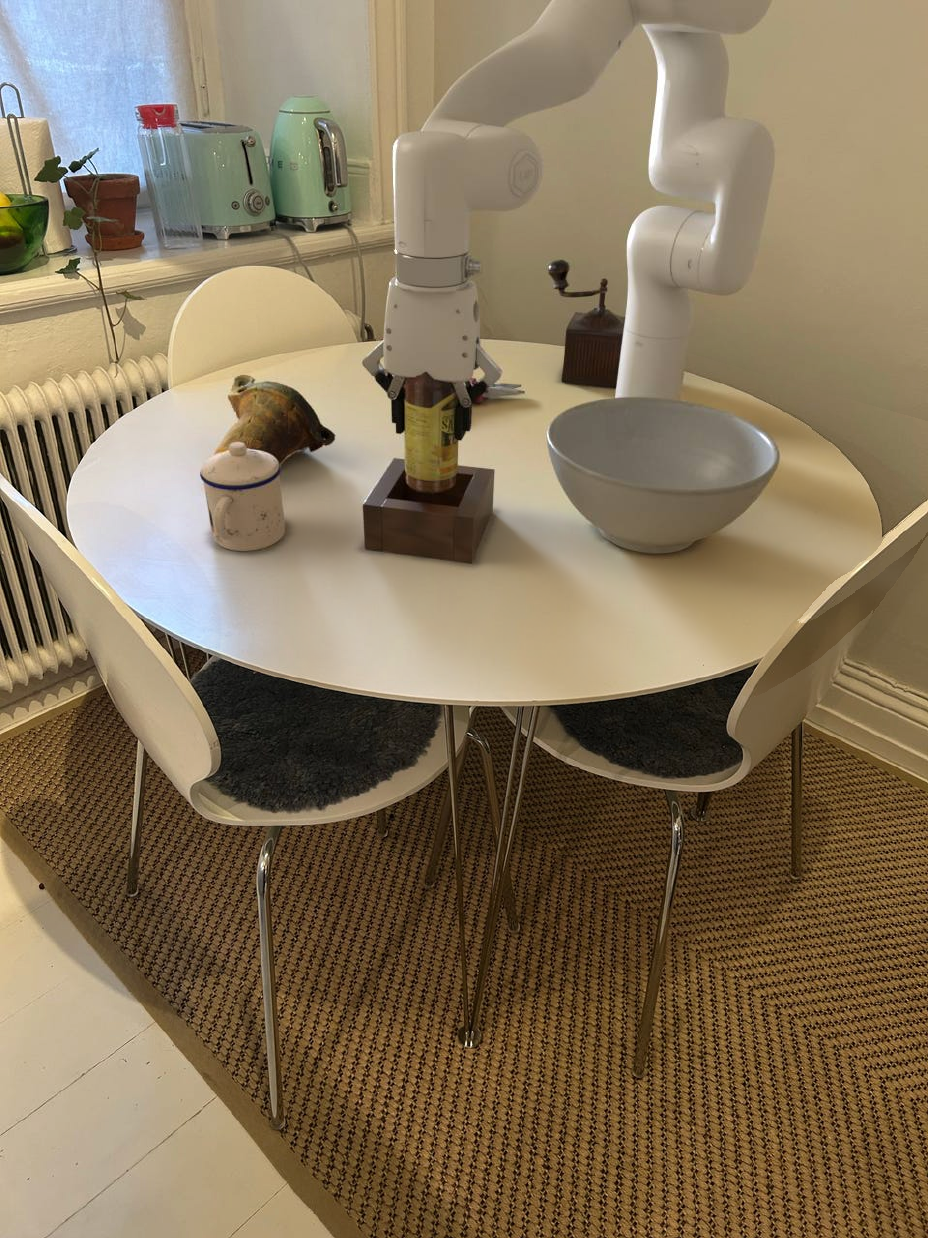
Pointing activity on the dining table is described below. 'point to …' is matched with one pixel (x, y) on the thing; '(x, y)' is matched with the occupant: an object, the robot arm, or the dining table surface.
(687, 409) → the decorative bowl
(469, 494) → the holder
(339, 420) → the dining table surface
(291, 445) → the pot
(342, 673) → the dining table surface
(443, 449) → the sauce bottle
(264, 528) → the teacup with lid
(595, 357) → the manual coffee grinder
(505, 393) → the pliers
